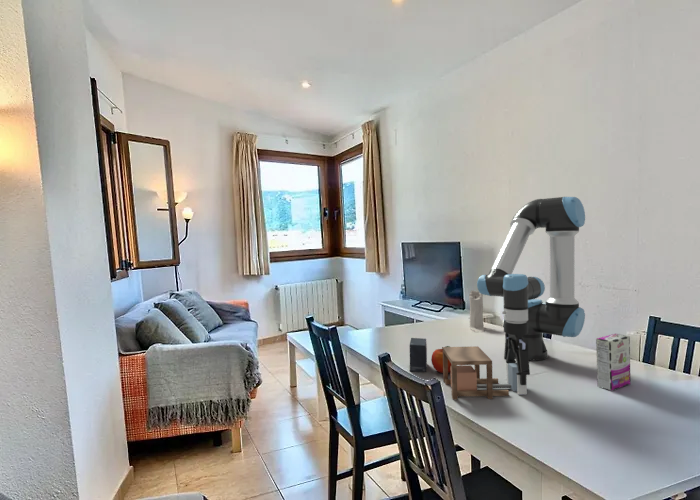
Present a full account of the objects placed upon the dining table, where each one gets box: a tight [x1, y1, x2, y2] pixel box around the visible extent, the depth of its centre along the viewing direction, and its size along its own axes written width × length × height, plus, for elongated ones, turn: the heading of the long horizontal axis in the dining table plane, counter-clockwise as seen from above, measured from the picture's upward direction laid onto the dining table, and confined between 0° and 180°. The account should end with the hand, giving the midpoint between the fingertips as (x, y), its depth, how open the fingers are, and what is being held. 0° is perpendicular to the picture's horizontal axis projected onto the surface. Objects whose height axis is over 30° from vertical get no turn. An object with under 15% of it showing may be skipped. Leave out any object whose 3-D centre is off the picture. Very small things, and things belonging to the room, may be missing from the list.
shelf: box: [442, 345, 510, 400], centre depth 136 cm, size 18×16×12 cm
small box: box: [409, 337, 428, 373], centre depth 160 cm, size 11×6×10 cm, turn 168°
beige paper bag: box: [468, 290, 486, 333], centre depth 218 cm, size 7×14×20 cm, turn 170°
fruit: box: [430, 345, 451, 374], centre depth 155 cm, size 10×10×10 cm
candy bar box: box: [595, 333, 632, 392], centre depth 136 cm, size 11×5×16 cm, turn 117°
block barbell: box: [450, 362, 518, 392], centre depth 136 cm, size 23×7×8 cm, turn 88°
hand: (516, 388), depth 136 cm, fingers open, 9 cm apart
